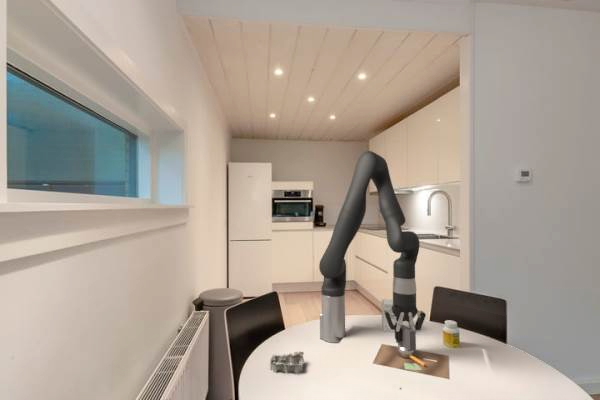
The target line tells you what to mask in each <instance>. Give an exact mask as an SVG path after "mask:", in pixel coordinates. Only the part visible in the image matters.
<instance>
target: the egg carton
mask: <svg viewBox="0 0 600 400" xmlns="http://www.w3.org/2000/svg"><path fill="white" fill-rule="evenodd" d="M304 354H305V353H304V351H294V353H289V354H288V353H287V354H285V353H283V354H272V355H271V358H270V359H269V363H270V364H269V365H270V366H269V367H270V369H269V370H270V371H272V370H273V371H272V372H273V373H277V372H279V371H278V370H282V371H281V372H283V373H284V372H288V371H289V372H293V373H294V374H299V373H301V371H302V372H303V370H304V369H303V367H304V362H305V360H304ZM287 363H288V364H287ZM289 372H288V373H289Z"/></svg>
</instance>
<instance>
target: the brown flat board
mask: <svg viewBox="0 0 600 400" xmlns="http://www.w3.org/2000/svg"><path fill="white" fill-rule="evenodd" d="M414 357H416V358H417V359H419V360H421V361H422V362H424V363H425V364H426V366H423V365H421V364H420V363H418V362H416V361H415V360H413V359H412V358H410V359H407V358H402V357H400V356H399V355H398V345H397V346H396V345H390V344H385V343H382V344H381V345H380V347H379V349H378V351H377V353H376V354H375V357H374V359H373V362H372V364H373V365H378V366H383V367H386V368H387V367H388V368H394V369H397V370H402V371H408V372H412V373H417V374H422V375H427V376H432V377H436V378H442V379H447V380H450V361H449V359H450V358H449V357H450V356H449V355H448V354H442V353H441V354H440V353H434V352H429V351H424V350H419V349H416V350H414Z"/></svg>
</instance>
